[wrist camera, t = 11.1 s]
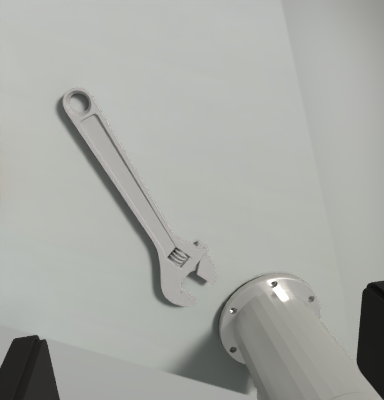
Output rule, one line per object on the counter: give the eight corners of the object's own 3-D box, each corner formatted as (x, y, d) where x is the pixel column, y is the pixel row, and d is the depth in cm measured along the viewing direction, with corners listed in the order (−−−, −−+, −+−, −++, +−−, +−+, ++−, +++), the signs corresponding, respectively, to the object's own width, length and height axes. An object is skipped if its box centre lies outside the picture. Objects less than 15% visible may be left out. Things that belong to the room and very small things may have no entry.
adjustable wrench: (57, 95, 32) (54, 96, 31) (123, 65, 33) (123, 65, 31) (171, 304, 42) (174, 313, 40) (222, 279, 42) (226, 288, 40)
